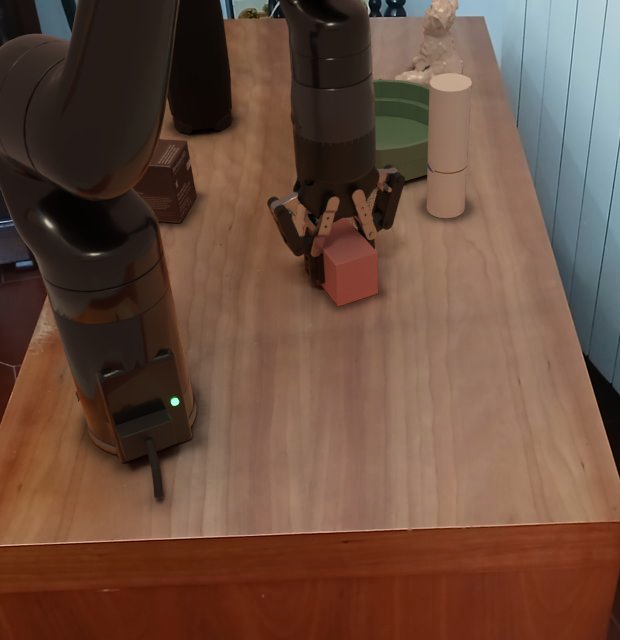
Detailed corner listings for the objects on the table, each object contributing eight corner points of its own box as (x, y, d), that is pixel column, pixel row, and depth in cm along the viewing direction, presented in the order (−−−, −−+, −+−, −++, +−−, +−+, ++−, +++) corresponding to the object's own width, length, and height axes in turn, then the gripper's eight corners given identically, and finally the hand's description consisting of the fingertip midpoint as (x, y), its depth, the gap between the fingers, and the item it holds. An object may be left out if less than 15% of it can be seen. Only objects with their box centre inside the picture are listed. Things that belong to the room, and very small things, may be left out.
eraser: (378, 293, 92) (377, 252, 89) (337, 306, 91) (335, 265, 88) (343, 253, 98) (342, 213, 95) (305, 265, 97) (302, 224, 93)
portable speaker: (227, 101, 126) (209, -46, 113) (242, 132, 119) (225, -22, 107) (165, 112, 124) (139, -37, 112) (177, 144, 118) (151, -11, 105)
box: (180, 224, 103) (170, 167, 99) (130, 220, 104) (117, 163, 100) (197, 196, 108) (188, 139, 103) (149, 192, 109) (138, 136, 104)
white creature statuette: (416, 64, 133) (418, -20, 125) (473, 73, 130) (478, -13, 122) (391, 92, 127) (390, 4, 119) (450, 102, 124) (454, 13, 116)
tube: (472, 206, 104) (480, 80, 94) (448, 222, 102) (454, 95, 92) (442, 193, 106) (447, 69, 96) (418, 209, 104) (421, 83, 94)
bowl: (482, 163, 111) (484, 125, 108) (346, 202, 106) (345, 163, 102) (409, 103, 124) (409, 68, 120) (284, 136, 118) (281, 99, 115)
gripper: (276, 157, 78) (291, 314, 89) (423, 117, 82) (420, 272, 94) (244, 121, 83) (262, 273, 95) (384, 85, 88) (385, 235, 99)
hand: (340, 272), depth 94 cm, fingers closed on eraser, 4 cm apart
